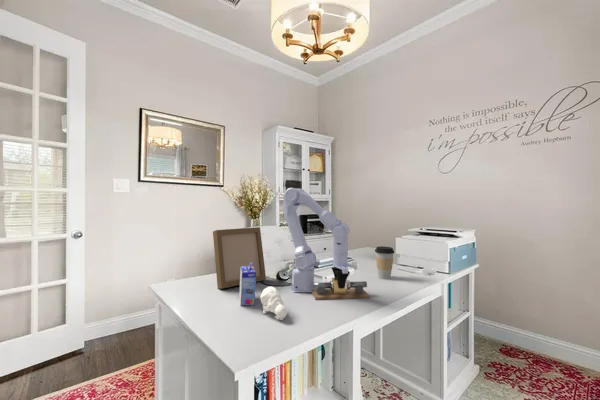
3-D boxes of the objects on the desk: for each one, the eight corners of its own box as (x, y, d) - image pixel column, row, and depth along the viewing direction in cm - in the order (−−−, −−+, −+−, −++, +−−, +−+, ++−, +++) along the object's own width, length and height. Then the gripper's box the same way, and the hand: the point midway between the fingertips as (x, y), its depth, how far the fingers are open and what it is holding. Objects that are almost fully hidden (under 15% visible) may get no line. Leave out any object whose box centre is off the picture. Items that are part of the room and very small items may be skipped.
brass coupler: (343, 290, 114) (343, 277, 114) (345, 293, 110) (345, 280, 110) (331, 291, 113) (331, 277, 113) (333, 294, 110) (334, 280, 110)
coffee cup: (396, 277, 139) (396, 247, 139) (391, 281, 131) (391, 250, 131) (377, 274, 144) (377, 245, 144) (371, 278, 136) (372, 248, 136)
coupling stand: (315, 299, 106) (315, 284, 106) (311, 292, 115) (311, 278, 115) (370, 297, 109) (370, 283, 109) (361, 290, 118) (362, 276, 118)
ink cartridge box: (256, 305, 100) (256, 265, 100) (240, 306, 99) (241, 266, 99) (253, 295, 110) (253, 259, 110) (239, 297, 108) (239, 260, 108)
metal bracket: (284, 262, 145) (306, 267, 135) (286, 272, 146) (308, 277, 136) (265, 275, 134) (287, 281, 125) (267, 285, 135) (290, 292, 126)
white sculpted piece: (275, 283, 98) (293, 296, 88) (274, 306, 99) (292, 322, 89) (259, 286, 94) (276, 300, 85) (258, 310, 95) (275, 327, 85)
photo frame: (266, 281, 129) (266, 228, 129) (221, 290, 115) (221, 231, 115) (250, 274, 140) (250, 225, 140) (208, 282, 126) (208, 228, 126)
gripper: (355, 256, 105) (355, 292, 105) (344, 249, 120) (344, 280, 120) (337, 257, 104) (337, 292, 104) (329, 250, 119) (328, 281, 119)
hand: (340, 286), depth 112 cm, fingers closed on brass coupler, 4 cm apart
